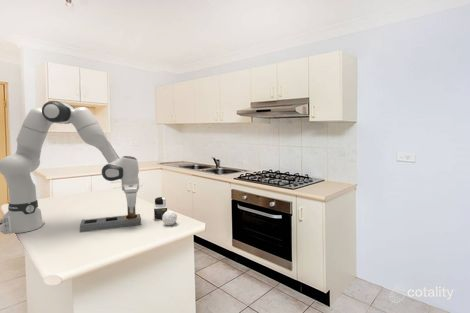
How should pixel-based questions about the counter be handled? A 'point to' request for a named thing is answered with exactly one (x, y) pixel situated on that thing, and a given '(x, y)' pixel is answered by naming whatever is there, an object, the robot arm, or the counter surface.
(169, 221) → the ball
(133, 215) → the walnut peg
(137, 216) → the rectangular metal frame
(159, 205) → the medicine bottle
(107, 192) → the counter surface
